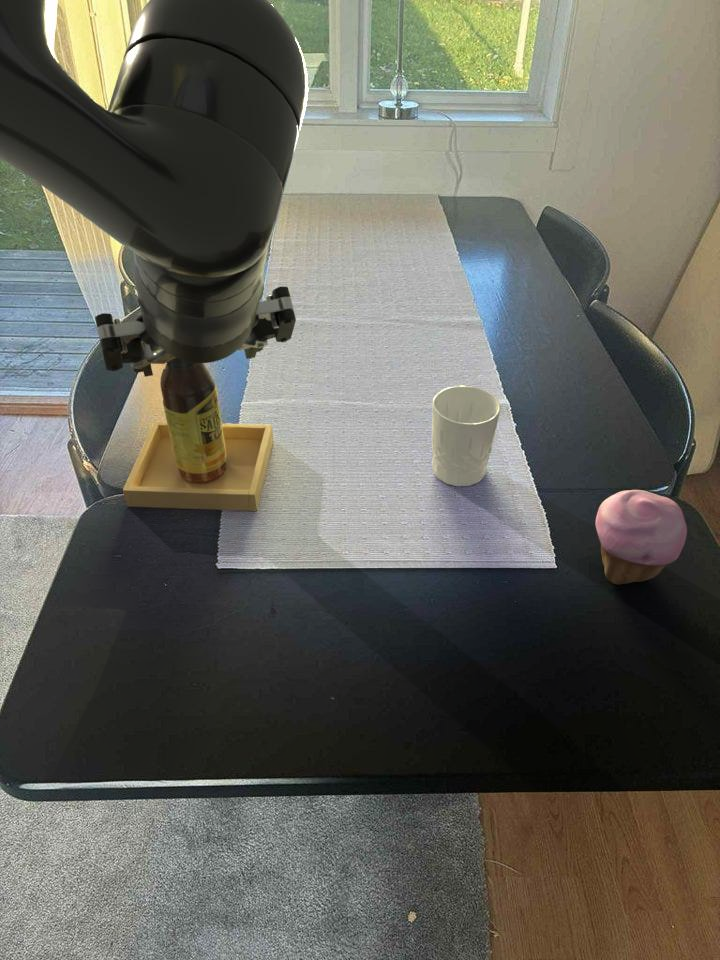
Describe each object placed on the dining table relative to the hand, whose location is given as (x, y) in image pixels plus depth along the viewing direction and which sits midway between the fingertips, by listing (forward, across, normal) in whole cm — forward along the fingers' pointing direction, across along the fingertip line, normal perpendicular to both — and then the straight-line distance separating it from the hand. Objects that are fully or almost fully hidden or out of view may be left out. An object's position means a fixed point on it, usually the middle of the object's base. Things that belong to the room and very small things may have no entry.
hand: (197, 355), depth 59 cm
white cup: (+23, -30, +14) cm, 40 cm away
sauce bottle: (+30, 0, +7) cm, 31 cm away
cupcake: (+8, -40, +29) cm, 50 cm away
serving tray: (+30, 0, +7) cm, 31 cm away
